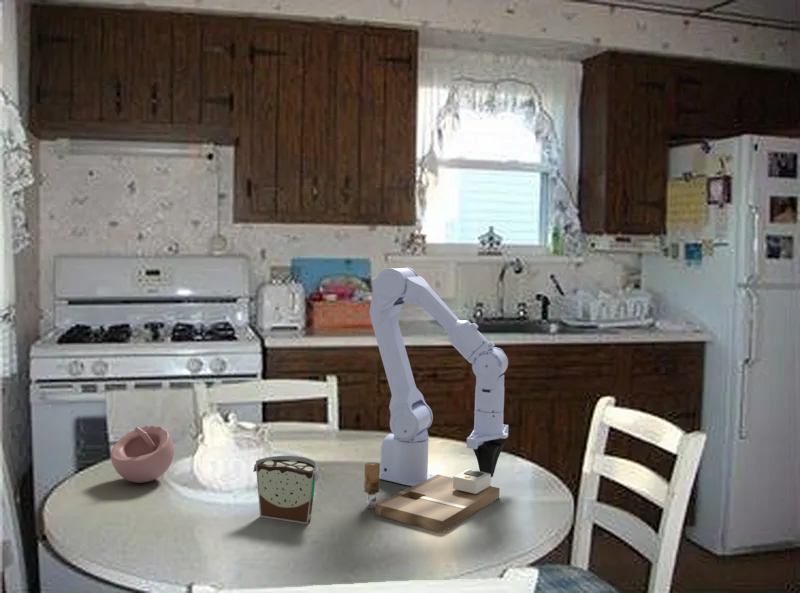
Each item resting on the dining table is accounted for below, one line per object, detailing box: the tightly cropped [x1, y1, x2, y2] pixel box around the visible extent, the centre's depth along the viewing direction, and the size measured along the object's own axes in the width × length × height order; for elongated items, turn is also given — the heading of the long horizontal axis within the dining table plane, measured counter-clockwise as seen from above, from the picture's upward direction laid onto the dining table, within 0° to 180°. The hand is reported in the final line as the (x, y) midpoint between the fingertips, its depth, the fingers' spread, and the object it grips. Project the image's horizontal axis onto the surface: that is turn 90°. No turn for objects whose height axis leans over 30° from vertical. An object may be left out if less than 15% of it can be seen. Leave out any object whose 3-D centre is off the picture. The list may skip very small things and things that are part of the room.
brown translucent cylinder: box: [363, 461, 381, 509], centre depth 143 cm, size 3×3×8 cm
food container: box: [253, 455, 320, 525], centre depth 138 cm, size 12×6×10 cm, turn 71°
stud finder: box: [452, 468, 492, 494], centre depth 148 cm, size 5×6×3 cm
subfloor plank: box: [374, 474, 500, 533], centre depth 144 cm, size 14×22×2 cm, turn 147°
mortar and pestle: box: [110, 425, 175, 484], centre depth 154 cm, size 12×12×11 cm
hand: (486, 476), depth 154 cm, fingers closed
